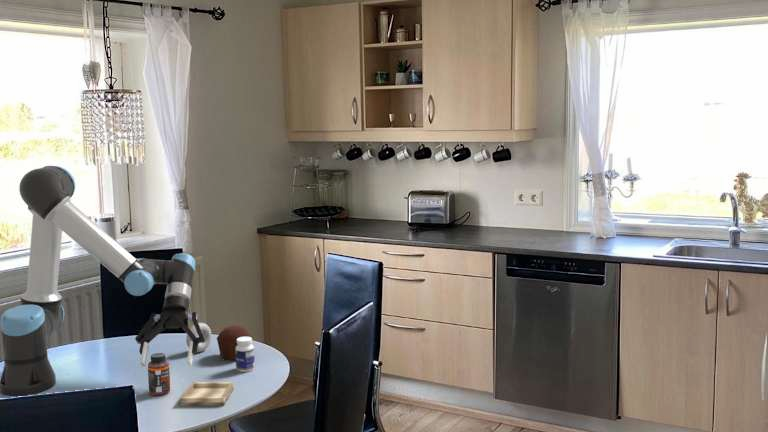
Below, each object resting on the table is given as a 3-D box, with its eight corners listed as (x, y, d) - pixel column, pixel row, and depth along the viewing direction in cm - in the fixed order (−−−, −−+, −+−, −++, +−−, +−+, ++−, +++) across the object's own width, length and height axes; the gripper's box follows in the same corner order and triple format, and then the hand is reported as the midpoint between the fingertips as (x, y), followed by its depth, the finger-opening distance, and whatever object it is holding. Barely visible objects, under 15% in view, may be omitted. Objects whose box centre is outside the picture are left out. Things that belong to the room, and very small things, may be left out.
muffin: (254, 360, 244) (252, 330, 243) (219, 364, 241) (217, 334, 240) (249, 349, 256) (248, 320, 254) (216, 353, 252) (215, 324, 251)
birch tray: (180, 405, 208) (180, 398, 208) (192, 389, 220) (192, 382, 220) (223, 405, 208) (223, 398, 207) (233, 389, 220) (233, 382, 219)
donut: (207, 347, 259) (206, 318, 257) (214, 348, 257) (213, 320, 255) (184, 355, 251) (183, 326, 249) (191, 357, 249) (190, 327, 247)
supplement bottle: (164, 396, 215) (162, 358, 213) (145, 395, 216) (142, 357, 214) (174, 389, 220) (172, 351, 219) (155, 388, 222) (153, 350, 220)
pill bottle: (232, 369, 236) (231, 338, 235) (247, 364, 240) (246, 334, 239) (243, 373, 232) (242, 342, 231) (258, 368, 237) (257, 338, 235)
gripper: (220, 305, 235) (211, 368, 222) (140, 306, 235) (127, 370, 223) (215, 293, 229) (206, 357, 216) (133, 294, 229) (119, 359, 217)
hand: (166, 364), depth 220 cm, fingers open, 13 cm apart
